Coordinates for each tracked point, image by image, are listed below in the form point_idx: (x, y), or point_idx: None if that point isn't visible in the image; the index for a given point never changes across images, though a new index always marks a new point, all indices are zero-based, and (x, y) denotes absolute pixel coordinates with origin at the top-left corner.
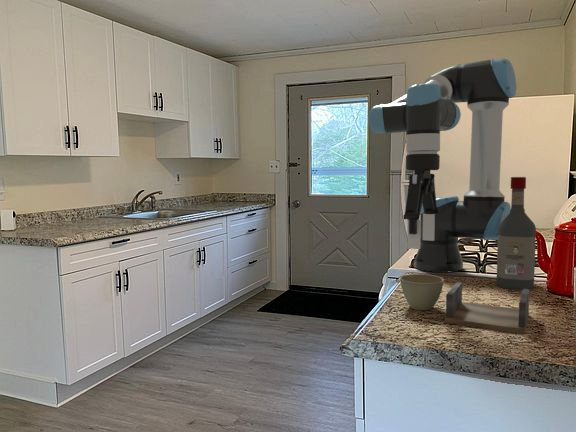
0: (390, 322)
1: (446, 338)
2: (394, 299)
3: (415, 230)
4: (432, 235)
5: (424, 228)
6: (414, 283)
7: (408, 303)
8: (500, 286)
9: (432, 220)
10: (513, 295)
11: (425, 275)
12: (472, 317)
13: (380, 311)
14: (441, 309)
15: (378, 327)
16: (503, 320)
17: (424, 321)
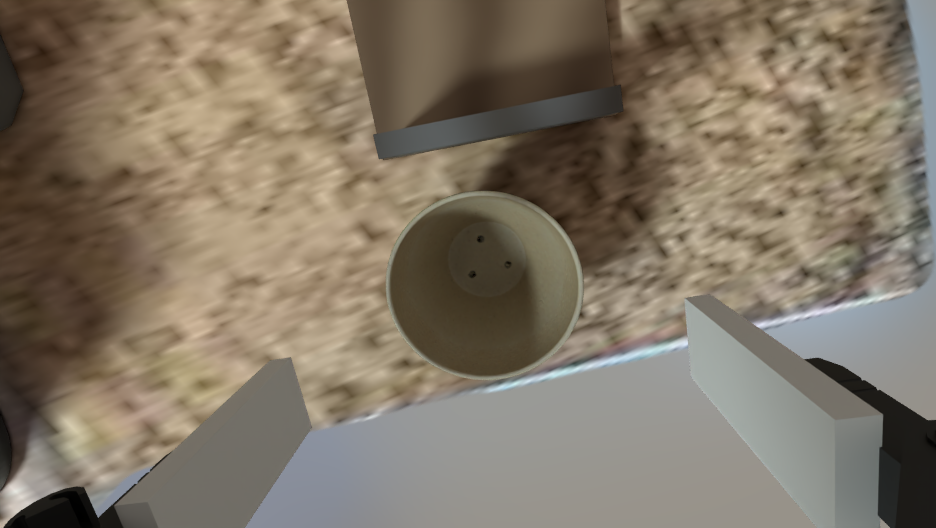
0: (705, 270)
1: (772, 44)
2: (449, 373)
3: (855, 374)
4: (274, 384)
5: (267, 475)
6: (582, 281)
7: (520, 296)
8: (14, 111)
9: (202, 466)
10: (98, 23)
11: (394, 308)
12: (549, 31)
13: (609, 349)
14: (465, 190)
15: (774, 278)
16: None
17: (634, 182)
